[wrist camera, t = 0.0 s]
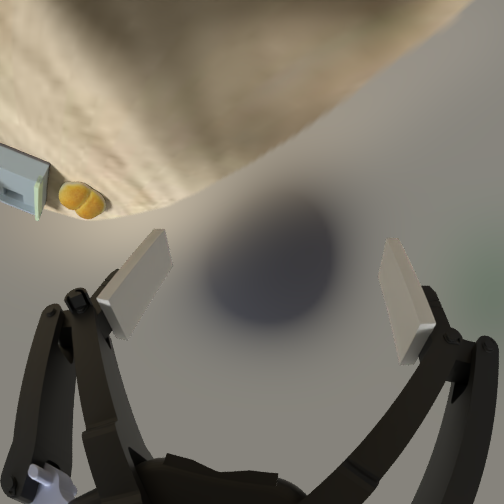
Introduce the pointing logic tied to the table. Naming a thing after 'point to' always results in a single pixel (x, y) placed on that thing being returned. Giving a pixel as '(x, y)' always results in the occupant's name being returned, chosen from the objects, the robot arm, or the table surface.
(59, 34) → the table surface
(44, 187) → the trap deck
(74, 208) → the bread roll
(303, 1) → the table surface
